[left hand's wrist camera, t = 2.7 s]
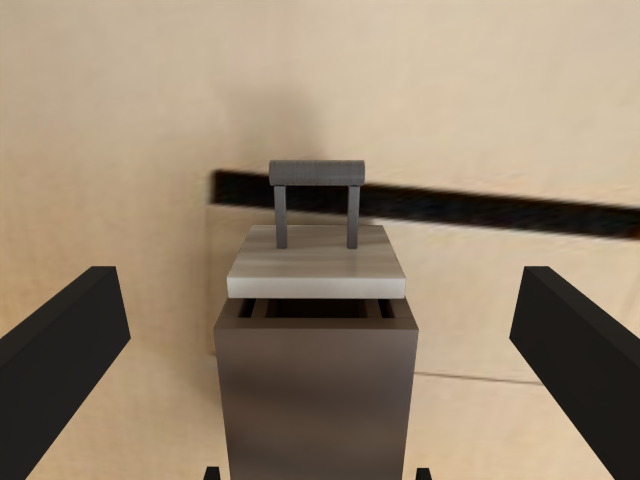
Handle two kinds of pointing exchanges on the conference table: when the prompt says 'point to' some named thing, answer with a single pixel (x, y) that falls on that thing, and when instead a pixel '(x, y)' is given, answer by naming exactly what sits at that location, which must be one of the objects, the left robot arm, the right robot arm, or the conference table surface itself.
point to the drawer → (316, 254)
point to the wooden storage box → (316, 393)
